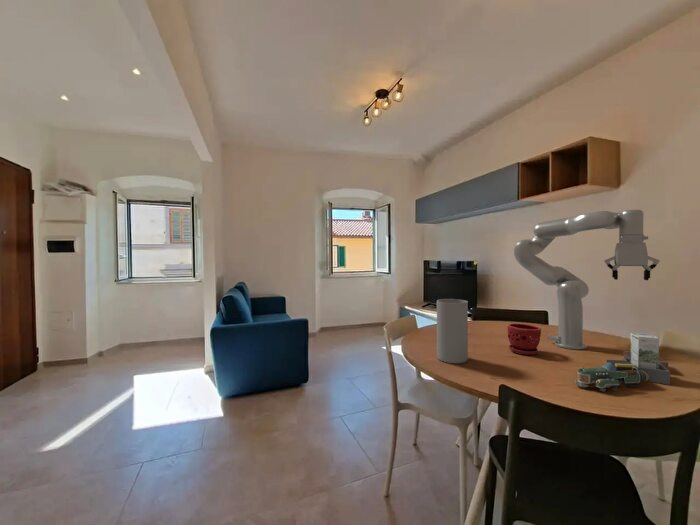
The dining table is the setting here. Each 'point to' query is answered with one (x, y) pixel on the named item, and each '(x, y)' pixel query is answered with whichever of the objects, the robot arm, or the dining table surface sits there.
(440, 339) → the cylinder vase
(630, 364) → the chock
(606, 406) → the dining table surface
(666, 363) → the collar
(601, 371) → the green toy hover car
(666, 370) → the tray
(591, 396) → the dining table surface
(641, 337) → the syrup box
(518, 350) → the plant pot
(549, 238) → the robot arm
